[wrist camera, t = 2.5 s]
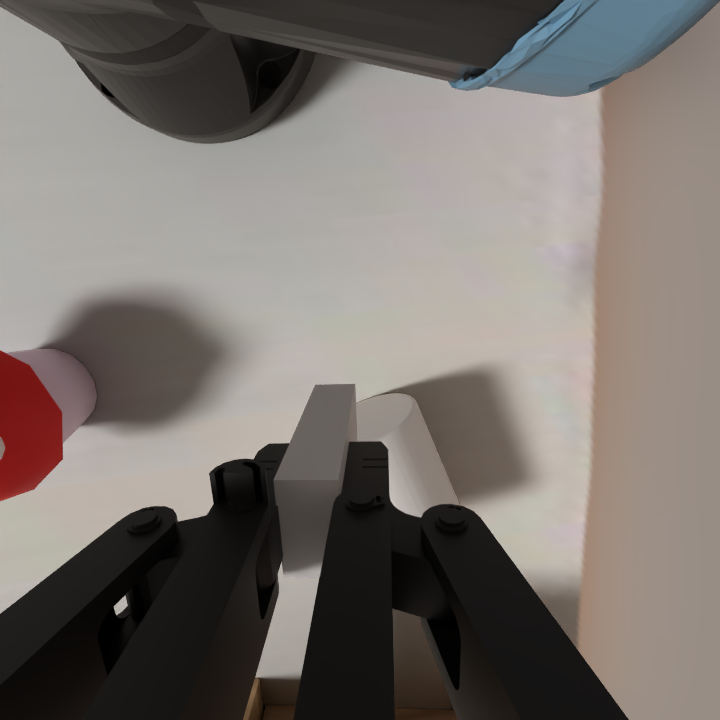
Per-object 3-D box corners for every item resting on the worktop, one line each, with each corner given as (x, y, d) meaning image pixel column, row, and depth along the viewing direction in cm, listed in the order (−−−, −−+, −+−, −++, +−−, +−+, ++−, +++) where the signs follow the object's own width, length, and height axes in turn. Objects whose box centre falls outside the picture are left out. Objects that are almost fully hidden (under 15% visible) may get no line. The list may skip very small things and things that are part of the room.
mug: (412, 380, 33) (420, 426, 25) (457, 489, 35) (478, 561, 27) (269, 435, 34) (237, 493, 27) (322, 534, 37) (306, 614, 29)
